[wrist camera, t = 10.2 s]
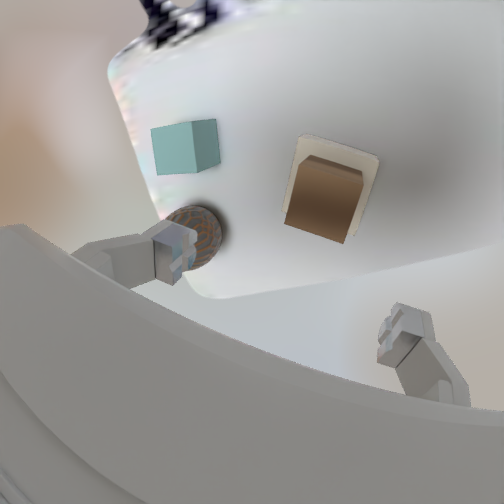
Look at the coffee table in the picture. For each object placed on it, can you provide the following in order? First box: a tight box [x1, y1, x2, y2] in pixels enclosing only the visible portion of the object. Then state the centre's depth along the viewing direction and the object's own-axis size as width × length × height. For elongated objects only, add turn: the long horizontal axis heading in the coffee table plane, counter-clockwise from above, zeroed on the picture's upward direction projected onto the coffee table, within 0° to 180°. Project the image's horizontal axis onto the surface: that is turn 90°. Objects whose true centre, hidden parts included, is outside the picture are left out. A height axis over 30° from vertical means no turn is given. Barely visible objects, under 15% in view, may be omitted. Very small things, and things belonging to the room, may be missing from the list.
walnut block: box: [284, 155, 364, 244], centre depth 20 cm, size 4×4×5 cm
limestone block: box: [281, 134, 380, 236], centre depth 24 cm, size 7×7×4 cm
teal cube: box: [151, 119, 220, 175], centre depth 27 cm, size 5×5×5 cm
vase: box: [165, 206, 222, 271], centre depth 30 cm, size 7×7×9 cm
